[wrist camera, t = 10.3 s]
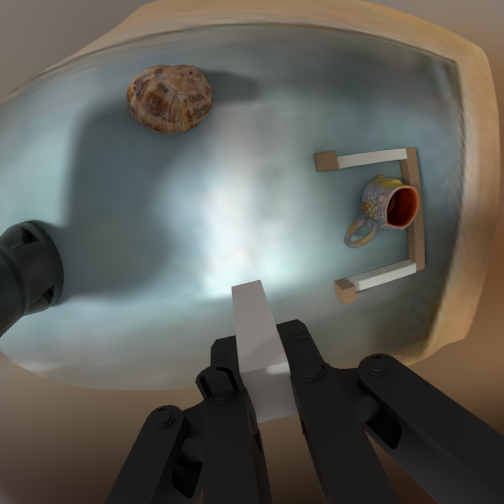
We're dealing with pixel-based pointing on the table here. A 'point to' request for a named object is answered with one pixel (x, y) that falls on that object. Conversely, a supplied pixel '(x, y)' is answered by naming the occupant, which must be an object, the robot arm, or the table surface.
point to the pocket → (415, 230)
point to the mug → (384, 208)
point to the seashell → (170, 98)
